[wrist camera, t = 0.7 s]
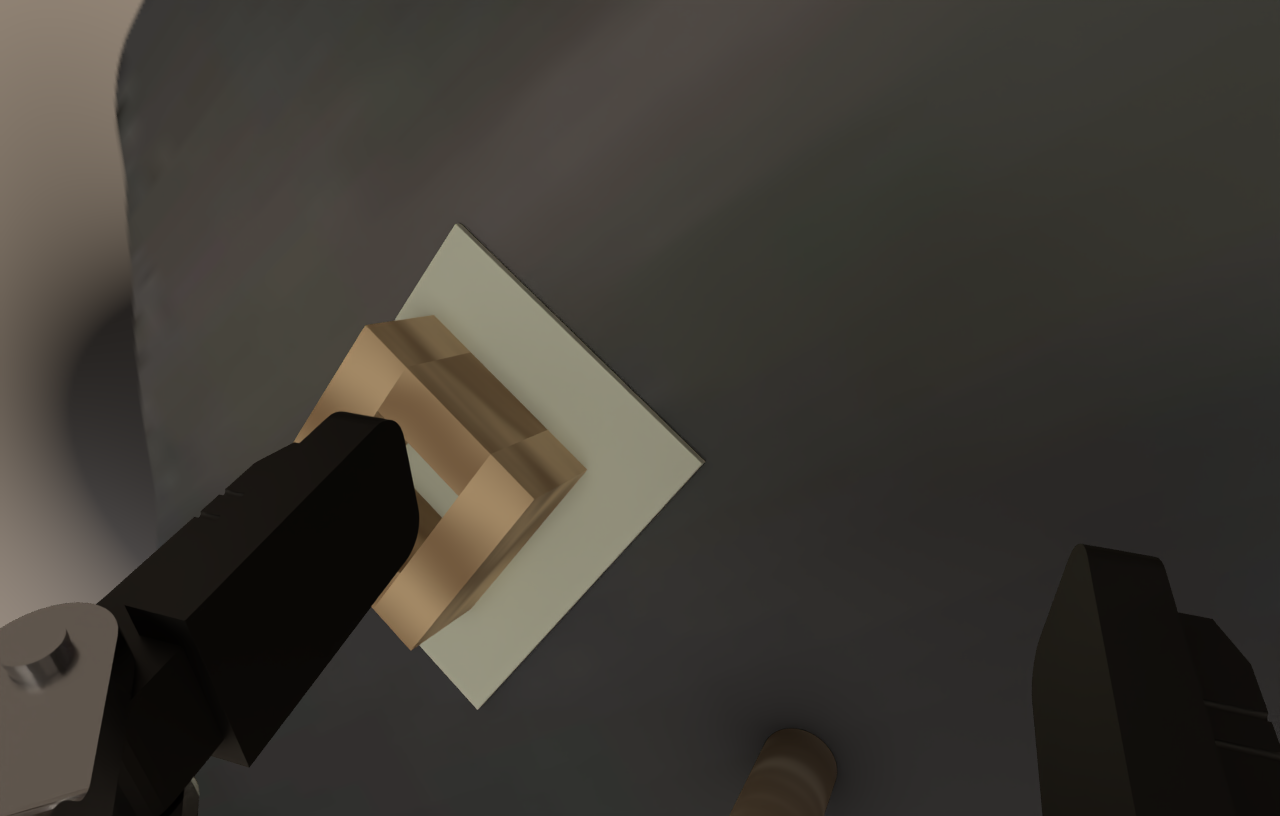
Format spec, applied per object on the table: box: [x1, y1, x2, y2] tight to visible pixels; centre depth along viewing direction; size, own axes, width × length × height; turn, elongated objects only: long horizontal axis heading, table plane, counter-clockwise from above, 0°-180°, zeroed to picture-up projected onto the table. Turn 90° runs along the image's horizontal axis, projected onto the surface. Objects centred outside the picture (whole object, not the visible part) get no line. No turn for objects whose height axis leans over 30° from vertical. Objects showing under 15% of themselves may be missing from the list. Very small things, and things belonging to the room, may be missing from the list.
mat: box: [395, 224, 705, 710], centre depth 40 cm, size 18×15×1 cm
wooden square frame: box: [293, 315, 587, 650], centre depth 38 cm, size 10×10×4 cm
